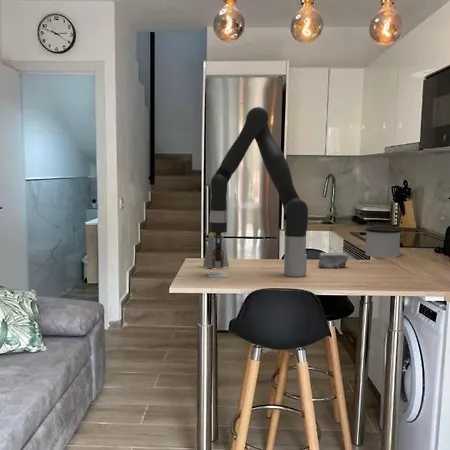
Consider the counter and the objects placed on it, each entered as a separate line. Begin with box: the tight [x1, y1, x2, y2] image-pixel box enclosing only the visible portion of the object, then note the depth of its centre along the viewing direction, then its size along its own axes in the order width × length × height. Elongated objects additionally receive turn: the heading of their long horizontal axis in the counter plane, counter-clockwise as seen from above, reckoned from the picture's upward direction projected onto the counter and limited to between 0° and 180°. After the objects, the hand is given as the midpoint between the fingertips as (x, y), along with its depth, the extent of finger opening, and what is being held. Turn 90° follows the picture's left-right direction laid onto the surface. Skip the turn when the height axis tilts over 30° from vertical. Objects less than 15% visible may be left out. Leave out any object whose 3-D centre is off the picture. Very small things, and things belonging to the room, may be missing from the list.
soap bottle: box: [202, 232, 230, 269], centre depth 226 cm, size 12×12×20 cm
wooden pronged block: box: [212, 250, 224, 268], centre depth 206 cm, size 5×5×7 cm
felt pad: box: [208, 271, 229, 278], centre depth 207 cm, size 8×11×1 cm
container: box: [364, 226, 402, 258], centre depth 268 cm, size 19×19×15 cm
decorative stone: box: [318, 252, 349, 269], centre depth 228 cm, size 15×7×10 cm
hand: (217, 259), depth 206 cm, fingers closed on wooden pronged block, 5 cm apart
